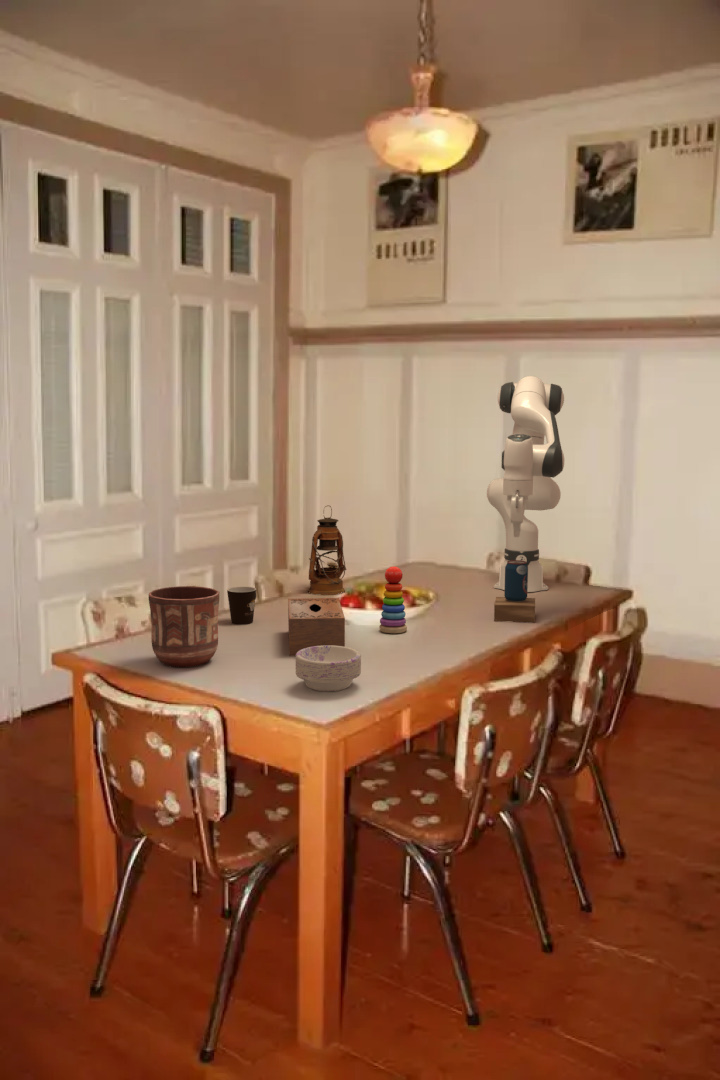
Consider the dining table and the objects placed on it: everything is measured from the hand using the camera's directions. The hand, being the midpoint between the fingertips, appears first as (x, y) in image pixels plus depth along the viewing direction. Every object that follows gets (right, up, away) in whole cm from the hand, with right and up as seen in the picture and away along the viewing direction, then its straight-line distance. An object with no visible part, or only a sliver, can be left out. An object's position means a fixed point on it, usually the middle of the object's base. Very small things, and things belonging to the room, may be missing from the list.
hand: (517, 534), depth 295 cm
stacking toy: (-38, -28, -14) cm, 49 cm away
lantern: (-59, -20, +43) cm, 76 cm away
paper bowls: (-55, -36, -68) cm, 94 cm away
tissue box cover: (-60, -30, -28) cm, 72 cm away
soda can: (0, -20, +4) cm, 21 cm away
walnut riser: (0, -25, +3) cm, 26 cm away
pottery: (-92, -33, -47) cm, 108 cm away
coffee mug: (-82, -26, -3) cm, 86 cm away
